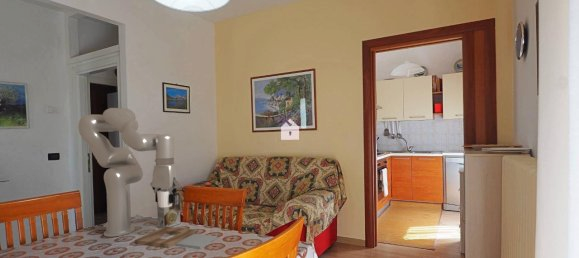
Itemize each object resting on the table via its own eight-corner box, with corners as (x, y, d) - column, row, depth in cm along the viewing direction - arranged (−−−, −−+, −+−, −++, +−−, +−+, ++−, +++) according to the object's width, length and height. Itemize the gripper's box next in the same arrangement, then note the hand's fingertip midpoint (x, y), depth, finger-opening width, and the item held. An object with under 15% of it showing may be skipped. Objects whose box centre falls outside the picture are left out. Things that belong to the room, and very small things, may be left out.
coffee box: (173, 221, 153) (173, 191, 153) (180, 223, 149) (180, 192, 149) (157, 226, 145) (156, 194, 146) (164, 229, 142) (163, 196, 142)
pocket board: (134, 243, 124) (134, 240, 124) (165, 229, 141) (165, 226, 141) (168, 248, 118) (168, 244, 118) (196, 233, 135) (196, 229, 135)
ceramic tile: (175, 245, 120) (175, 243, 120) (194, 235, 132) (194, 233, 132) (200, 248, 116) (200, 246, 116) (217, 237, 128) (217, 236, 128)
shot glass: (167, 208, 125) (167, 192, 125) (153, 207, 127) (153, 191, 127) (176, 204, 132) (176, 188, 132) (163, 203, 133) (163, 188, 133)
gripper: (143, 162, 129) (143, 202, 129) (175, 163, 123) (175, 205, 123) (155, 160, 136) (156, 198, 136) (186, 161, 130) (187, 201, 130)
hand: (165, 201), depth 129 cm, fingers closed on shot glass, 6 cm apart
